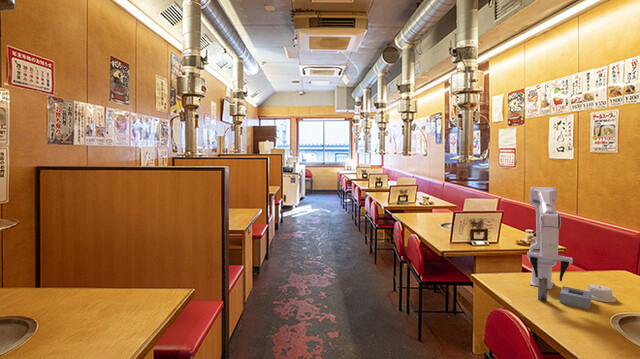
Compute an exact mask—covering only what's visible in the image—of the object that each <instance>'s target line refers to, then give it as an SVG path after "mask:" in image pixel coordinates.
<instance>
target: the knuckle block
mask: <svg viewBox="0 0 640 359" xmlns="http://www.w3.org/2000/svg"><path fill="white" fill-rule="evenodd" d="M585 290H586V289H579V288H574V287H569V286H564V285H562V288H561V290H560V293H559V303H560V304H564V305H568V306H571V307H572V306H573V307H576V308H582V309H586V310H590V309H591V304H592V299H591V292H590V291H585Z"/></svg>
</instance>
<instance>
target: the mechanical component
mask: <svg viewBox="0 0 640 359" xmlns="http://www.w3.org/2000/svg"><path fill="white" fill-rule="evenodd" d="M584 290H585V291H590V292H591V300H593V301H597V302H603V303H615V302H617V297H616V296H615V295H614V294H613V289H612V288H610V287H609V286H604V285H601V284H593V283H592V284H588V285H587V289H584Z"/></svg>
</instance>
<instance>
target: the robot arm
mask: <svg viewBox="0 0 640 359" xmlns="http://www.w3.org/2000/svg"><path fill="white" fill-rule="evenodd" d="M557 190H558V189H557V187H555V186H553V187H552V186H551V187H549V186H542V187H541V186H531V187H530V188H529V204H530V206H533V207H534V209H535V215H536V216H535V223H536V225H535V226H536V228H535V231H536V232H535V233H536V234H535V237H536V238H535V239H536V240H535V243H533V244H531V245H530V246H529V250H528V251H527V252H526V259H528V261H529V263H530V264H531V265H532V268H531V272H532V273H531V281H530V282H529V285H530V286H533V287H538V277H545V278H547V279H548V281H547V290H551V289H552V288H553V286H554V284H555V282H554V281H552V273H553V272H552V271H553V269H552V268H553V267H555V266H556V265H557V262H558V263H559V262H560V266H559V267H560V270H559V271H560V272H559V282H562V281H563V278H564V274H566V273H565V272H566V271H567V269H569V266H570V264H571V265H572V264H573V257H569V256H564V255H559V239H560V238H559V235H560V234H559V233H560V232H559V230H560V229H561V226H562V218H561V217H562V216H561V214H560V213H559V212H558V211H557V207H556V205H555V204H556V200H557V198H558V191H557Z"/></svg>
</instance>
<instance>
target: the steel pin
mask: <svg viewBox="0 0 640 359" xmlns="http://www.w3.org/2000/svg"><path fill="white" fill-rule="evenodd" d="M547 281H548V279H547V278H545V277H538V286H537V287H538V288H537V300H538V301H539V302H548V288H547Z"/></svg>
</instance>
